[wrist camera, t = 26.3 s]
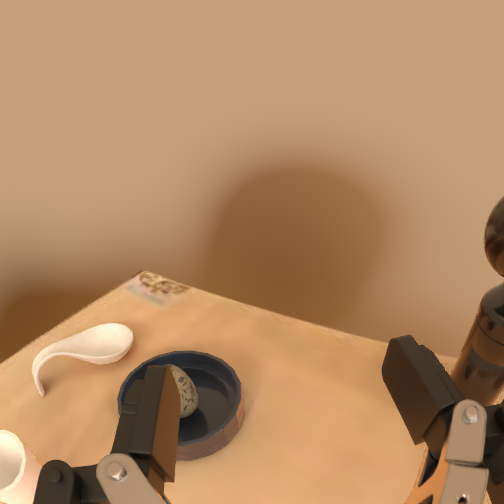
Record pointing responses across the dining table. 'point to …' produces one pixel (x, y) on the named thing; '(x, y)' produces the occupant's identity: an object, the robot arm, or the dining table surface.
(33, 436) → the dining table surface
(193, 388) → the decorative egg
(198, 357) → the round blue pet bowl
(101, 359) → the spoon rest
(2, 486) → the foam cup
